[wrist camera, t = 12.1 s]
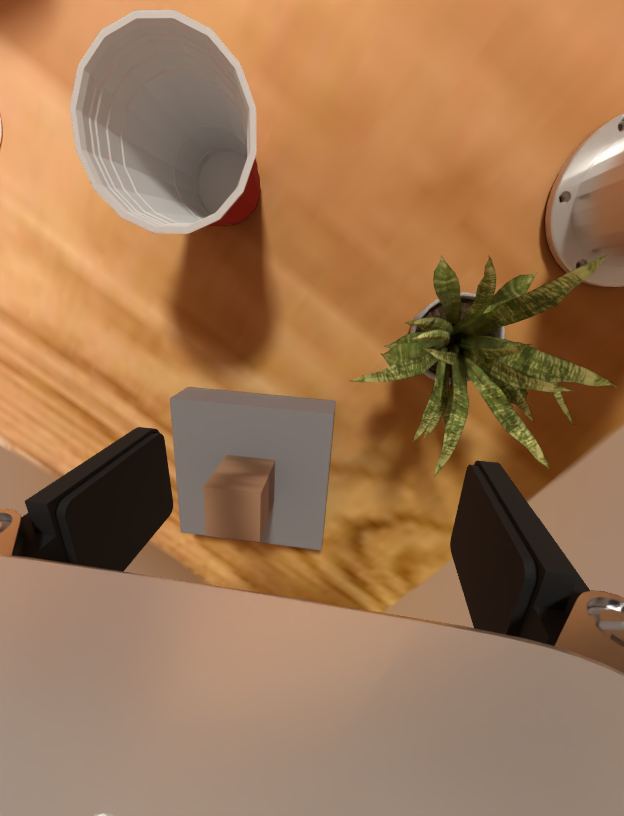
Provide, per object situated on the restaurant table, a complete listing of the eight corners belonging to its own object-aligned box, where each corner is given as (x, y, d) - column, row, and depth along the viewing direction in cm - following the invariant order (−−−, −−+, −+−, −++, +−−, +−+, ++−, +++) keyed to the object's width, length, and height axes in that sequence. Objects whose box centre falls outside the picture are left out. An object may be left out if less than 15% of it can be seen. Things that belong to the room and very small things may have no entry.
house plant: (366, 420, 36) (377, 517, 21) (336, 285, 32) (323, 284, 17) (510, 391, 34) (642, 479, 18) (497, 241, 30) (656, 193, 14)
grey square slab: (335, 400, 36) (333, 414, 32) (324, 526, 41) (321, 550, 38) (188, 386, 37) (169, 398, 33) (195, 510, 43) (180, 532, 39)
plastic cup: (315, 165, 29) (293, 89, 18) (249, 277, 33) (197, 272, 21) (207, 78, 28) (110, -61, 17) (151, 204, 32) (41, 159, 20)
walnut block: (275, 460, 34) (260, 494, 29) (273, 502, 36) (259, 541, 31) (226, 454, 35) (203, 487, 29) (227, 496, 37) (205, 534, 31)
